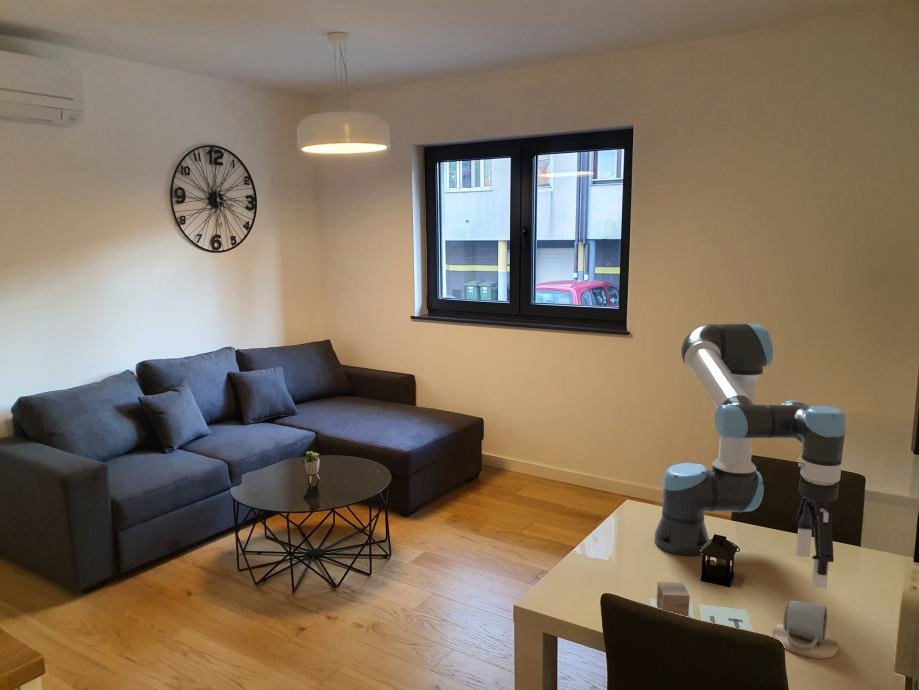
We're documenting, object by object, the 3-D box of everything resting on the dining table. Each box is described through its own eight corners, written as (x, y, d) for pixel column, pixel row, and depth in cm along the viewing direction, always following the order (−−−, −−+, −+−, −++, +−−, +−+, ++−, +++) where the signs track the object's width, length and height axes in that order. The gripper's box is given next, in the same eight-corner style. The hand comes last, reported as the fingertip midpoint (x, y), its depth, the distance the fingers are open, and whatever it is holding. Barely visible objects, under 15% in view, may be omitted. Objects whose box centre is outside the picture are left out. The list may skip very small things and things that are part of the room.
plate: (649, 598, 168) (649, 598, 168) (692, 603, 165) (692, 603, 165) (651, 621, 158) (651, 620, 158) (696, 626, 156) (696, 626, 156)
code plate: (698, 604, 165) (698, 603, 165) (746, 610, 162) (746, 609, 162) (704, 637, 152) (704, 637, 152) (757, 644, 149) (757, 643, 149)
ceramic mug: (786, 621, 157) (788, 591, 155) (826, 632, 152) (829, 601, 151) (778, 645, 148) (781, 613, 147) (820, 658, 144) (823, 625, 142)
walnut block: (656, 604, 165) (657, 581, 164) (681, 605, 164) (682, 582, 163) (662, 618, 159) (663, 594, 158) (688, 619, 159) (689, 595, 158)
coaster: (767, 620, 158) (767, 618, 158) (828, 628, 155) (828, 625, 155) (779, 654, 146) (779, 651, 146) (846, 662, 143) (846, 660, 143)
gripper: (787, 457, 157) (779, 542, 161) (815, 500, 133) (806, 598, 137) (822, 460, 155) (813, 546, 159) (858, 504, 131) (847, 603, 135)
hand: (810, 570), depth 148 cm, fingers open, 13 cm apart
